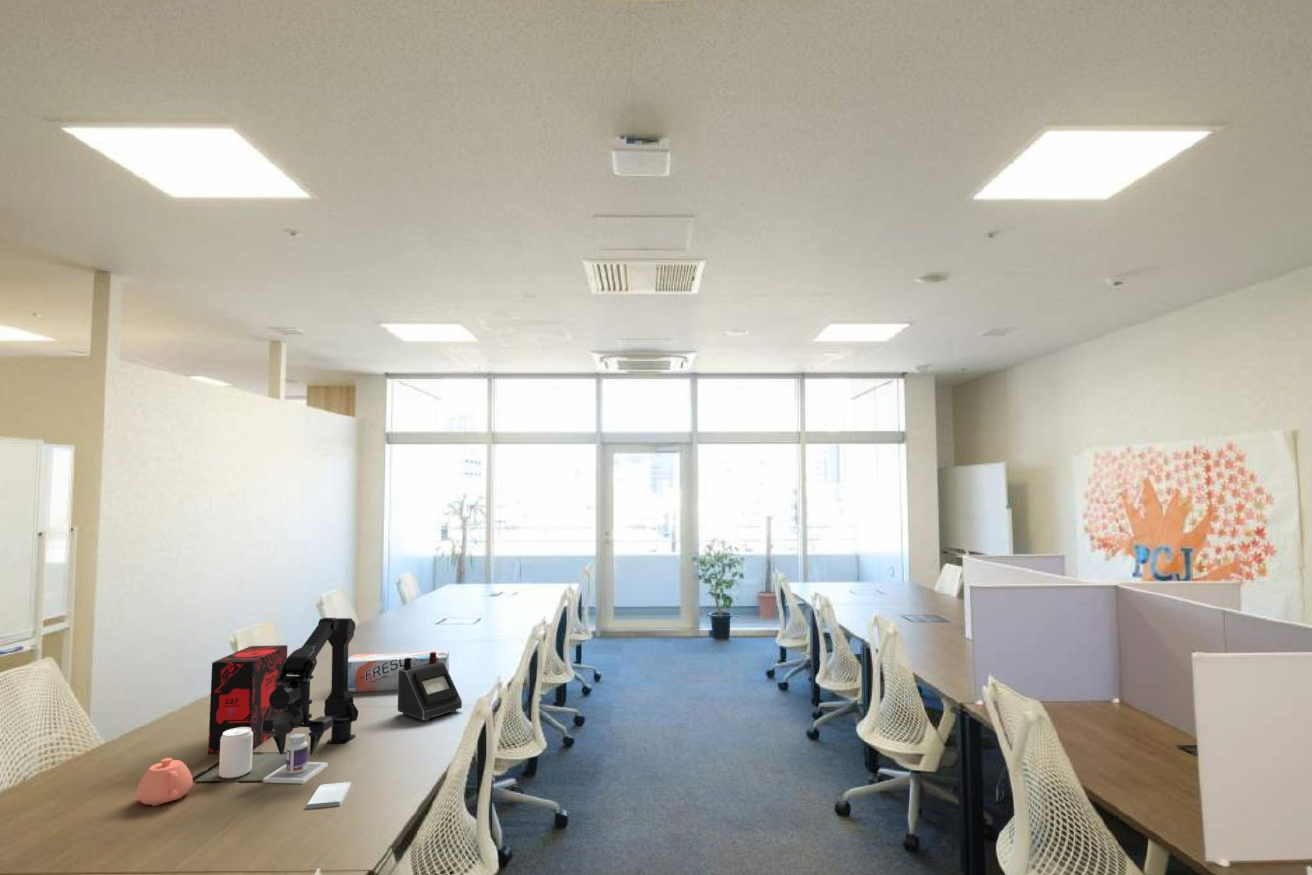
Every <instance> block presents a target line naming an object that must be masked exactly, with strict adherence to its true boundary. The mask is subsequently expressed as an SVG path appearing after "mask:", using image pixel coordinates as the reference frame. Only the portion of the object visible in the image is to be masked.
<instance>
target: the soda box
mask: <svg viewBox="0 0 1312 875" xmlns="http://www.w3.org/2000/svg"><path fill="white" fill-rule="evenodd" d="M431 652H436V661H439V662H444V664H445V666H446V668H447V670H448V673H449V674H450V672H449V671H450V670H449V669H450V660H449V659H450V658H449V656H450V652H449V650H434V651H433V650H432V651H429V650H428V651H409V652H408V651H407V652H406V651H405V652H384V653H362V654H360V653H359V654H357V653H356V654H352V655H350V656H348V690H349V691H350V693H365V692H366V693H369V692H384V691H385V692H386V691H398V674H399V669H403V668H404V658H411V667H412V666H416V665H420V664H425V663H429V657H430V653H431Z"/></svg>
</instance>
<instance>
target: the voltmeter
mask: <svg viewBox="0 0 1312 875" xmlns="http://www.w3.org/2000/svg"><path fill="white" fill-rule="evenodd" d="M462 702H463V701H462V698H461V696H460V694H459V692H458V690H457V688H456V686H455V684H454V681H453V679H452V677H451V675H450V672H449V673H448V670H447V668H446V666H445V664H444V662H439V661H436V652H431V653H430V657H429V663H425V664H420V665H416V666H412V667H411V658H404V668H403V669H399V674H398V690H397V712H399V713H402V716H411V717H414V718H416V719H421V720H422V723H426V722H427V723H428V722H429V719H430V718H434V717H436V716H441V715H445V714H446V713H450V714H455V713H457V710H460V709H462V707H463V706H462V705H463V703H462Z"/></svg>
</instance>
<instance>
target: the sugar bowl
mask: <svg viewBox="0 0 1312 875" xmlns="http://www.w3.org/2000/svg"><path fill="white" fill-rule="evenodd" d="M193 784H194V779H193V776H192V772H191V771H190V769H189V768H188V766H187V765H186V764H185V763H184V762H183V761H181V760H178V759H173V758H172V757H166V758H163V759H160V762H158V763H155V764H153V765H151V766H150V767H149V768H148V769H147V771H146V772H145V773H144V775H143V776H142V778H141V779H140V780H139V783H138V786H137V788H136V792H135V797H136V799H137V800H138V801H139V802H141V803H142V804H144V805H151V806H152V807H156V806H160V805H162V804H165V803H168V802H169V803H170V802H173V801H175V800H181V799H182V798H183V796H185V795H187V793H188V792H189V791H190V790H191V788H192V787H193Z"/></svg>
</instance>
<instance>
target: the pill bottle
mask: <svg viewBox="0 0 1312 875" xmlns="http://www.w3.org/2000/svg"><path fill="white" fill-rule="evenodd" d="M305 740H306V734H305V733H294V734H292V735H290V736H289V744H288V745H287V746H286V755H285V756H286V761H285V764H286V772H287V773H289V774H295V773H300V772H303V771H304V770H306V769H307V762H308V750H309V749H308V747H309V746H308V745H309V744H308V742H307V741H305Z"/></svg>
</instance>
